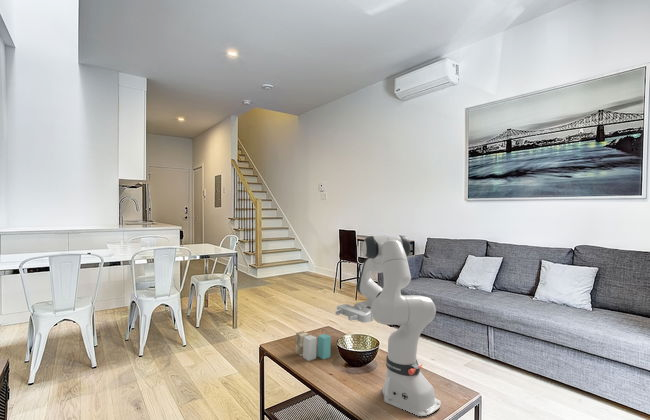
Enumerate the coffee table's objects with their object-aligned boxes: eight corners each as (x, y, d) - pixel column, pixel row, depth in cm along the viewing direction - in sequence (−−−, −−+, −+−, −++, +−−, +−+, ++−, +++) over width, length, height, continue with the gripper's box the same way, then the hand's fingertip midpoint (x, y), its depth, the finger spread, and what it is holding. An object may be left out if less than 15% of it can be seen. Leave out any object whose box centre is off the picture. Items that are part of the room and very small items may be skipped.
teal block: (330, 356, 163) (330, 336, 163) (323, 359, 160) (324, 338, 160) (324, 353, 166) (324, 333, 166) (317, 356, 163) (317, 335, 163)
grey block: (316, 358, 161) (316, 337, 161) (308, 361, 158) (309, 339, 158) (310, 355, 164) (310, 334, 164) (302, 357, 161) (303, 336, 161)
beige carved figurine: (308, 353, 165) (308, 333, 165) (301, 356, 162) (301, 335, 162) (302, 350, 169) (303, 331, 169) (295, 353, 166) (296, 333, 166)
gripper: (347, 300, 188) (329, 304, 179) (375, 309, 173) (357, 315, 163) (347, 311, 188) (328, 316, 179) (375, 322, 173) (356, 327, 164)
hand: (342, 315), depth 171 cm, fingers open, 8 cm apart
